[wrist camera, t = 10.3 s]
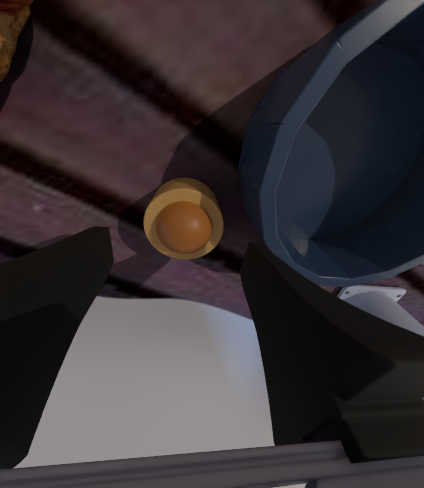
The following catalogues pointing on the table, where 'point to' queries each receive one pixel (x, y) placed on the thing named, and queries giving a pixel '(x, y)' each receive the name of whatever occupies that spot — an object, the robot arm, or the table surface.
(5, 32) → the croissant
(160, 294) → the table surface
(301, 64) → the pot
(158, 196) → the ball in tan cup
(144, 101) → the table surface
